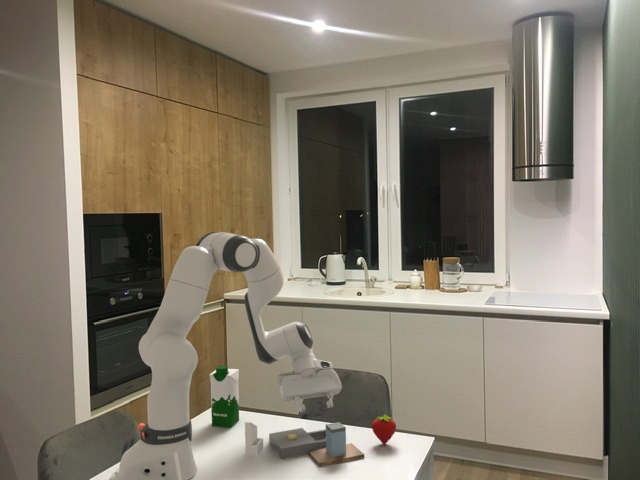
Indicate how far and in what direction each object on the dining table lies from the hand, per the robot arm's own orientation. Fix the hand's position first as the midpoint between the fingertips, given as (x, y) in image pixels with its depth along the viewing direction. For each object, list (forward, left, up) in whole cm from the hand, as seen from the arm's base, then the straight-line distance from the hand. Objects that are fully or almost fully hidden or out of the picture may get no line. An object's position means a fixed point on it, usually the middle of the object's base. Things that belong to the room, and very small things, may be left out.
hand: (316, 408), depth 169 cm
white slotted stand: (-21, -1, -10) cm, 23 cm away
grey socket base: (-5, -3, -10) cm, 11 cm away
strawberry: (+17, -12, -10) cm, 23 cm away
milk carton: (-24, +25, -10) cm, 36 cm away
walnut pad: (0, -14, -10) cm, 17 cm away
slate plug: (0, -14, -9) cm, 16 cm away
